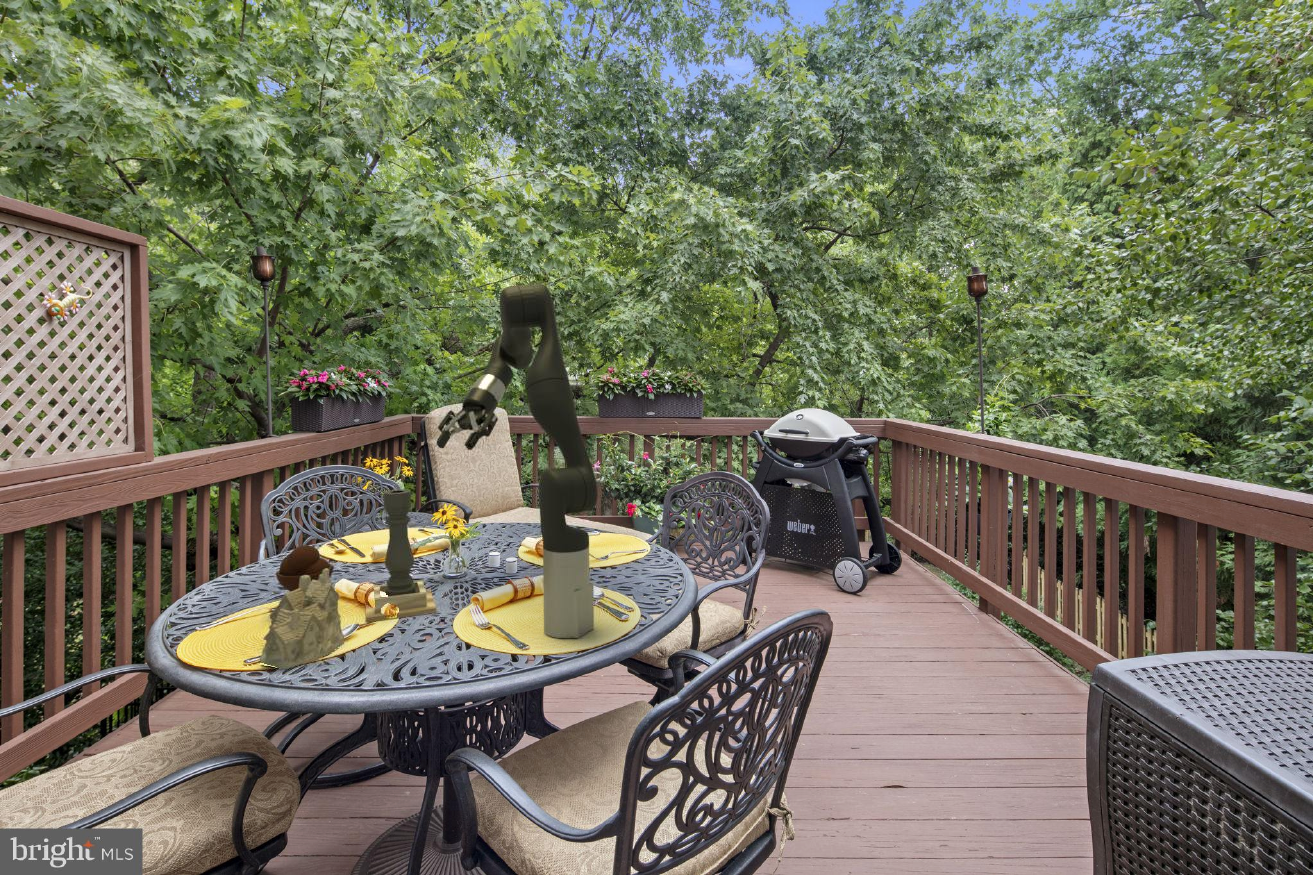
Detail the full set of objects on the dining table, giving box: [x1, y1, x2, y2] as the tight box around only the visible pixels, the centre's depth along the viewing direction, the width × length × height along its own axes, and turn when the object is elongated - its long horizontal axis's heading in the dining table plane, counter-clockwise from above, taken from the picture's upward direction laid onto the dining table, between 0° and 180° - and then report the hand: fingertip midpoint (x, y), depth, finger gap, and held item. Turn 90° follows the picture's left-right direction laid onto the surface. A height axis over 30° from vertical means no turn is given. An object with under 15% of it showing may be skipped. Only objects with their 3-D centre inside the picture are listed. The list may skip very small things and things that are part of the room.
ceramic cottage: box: [258, 568, 346, 670], centre depth 121 cm, size 16×16×15 cm
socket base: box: [365, 579, 437, 623], centre depth 144 cm, size 14×14×4 cm
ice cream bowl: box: [275, 544, 335, 592], centre depth 140 cm, size 11×11×15 cm
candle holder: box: [382, 489, 415, 596], centre depth 143 cm, size 6×6×25 cm
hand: (453, 446), depth 150 cm, fingers open, 8 cm apart
